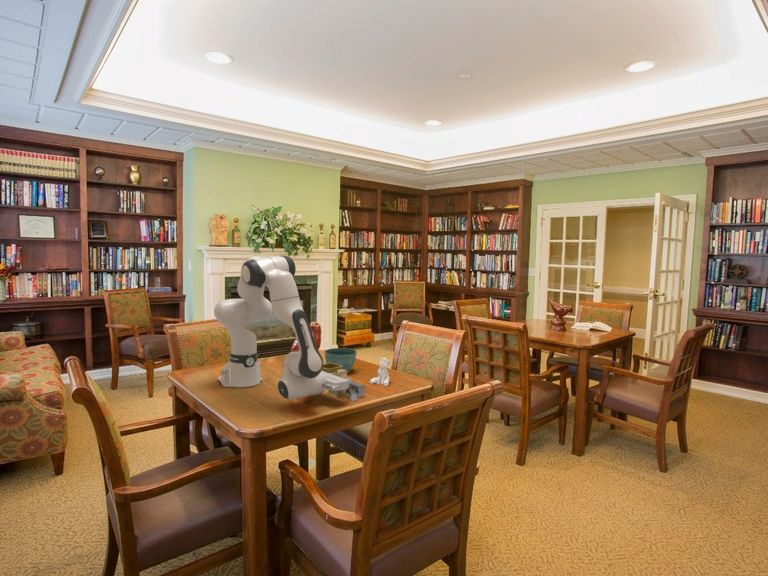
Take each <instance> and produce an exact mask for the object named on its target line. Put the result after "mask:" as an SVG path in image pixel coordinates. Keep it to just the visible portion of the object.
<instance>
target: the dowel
mask: <svg viewBox="0 0 768 576" xmlns="http://www.w3.org/2000/svg"><path fill="white" fill-rule="evenodd" d="M337 376H338V377H341V378H344V379H346V378H348V373H347V370H338V371H337ZM336 396H337V398H339V397H341V398H340V399H342V398H343V397H344V398H347V397H346V396H347V389H345V390H339V391H337V393H336Z"/></svg>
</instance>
